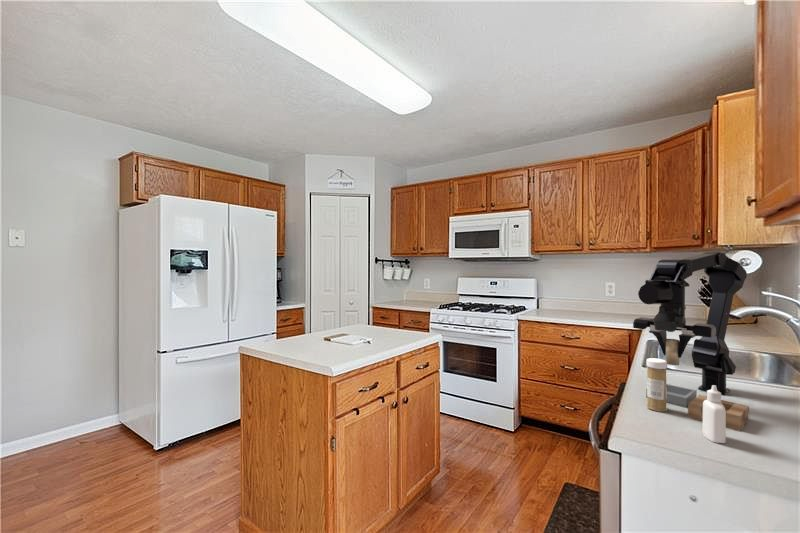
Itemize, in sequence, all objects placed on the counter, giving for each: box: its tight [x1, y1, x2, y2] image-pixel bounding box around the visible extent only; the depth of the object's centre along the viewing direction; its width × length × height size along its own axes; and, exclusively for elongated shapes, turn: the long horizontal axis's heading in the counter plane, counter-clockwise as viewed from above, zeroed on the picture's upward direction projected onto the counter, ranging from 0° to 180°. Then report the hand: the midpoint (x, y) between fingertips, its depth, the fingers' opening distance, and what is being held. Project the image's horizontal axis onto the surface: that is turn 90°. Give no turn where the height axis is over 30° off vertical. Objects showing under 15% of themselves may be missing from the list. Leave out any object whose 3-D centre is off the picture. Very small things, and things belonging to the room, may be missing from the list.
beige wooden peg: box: [665, 338, 680, 366], centre depth 108 cm, size 3×3×7 cm
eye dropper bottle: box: [702, 385, 727, 444], centre depth 85 cm, size 4×6×12 cm
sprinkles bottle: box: [646, 357, 668, 413], centre depth 101 cm, size 5×5×14 cm
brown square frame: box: [687, 394, 750, 432], centre depth 95 cm, size 10×10×4 cm
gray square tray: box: [645, 383, 698, 408], centre depth 109 cm, size 10×10×3 cm
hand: (672, 356), depth 108 cm, fingers closed on beige wooden peg, 3 cm apart
